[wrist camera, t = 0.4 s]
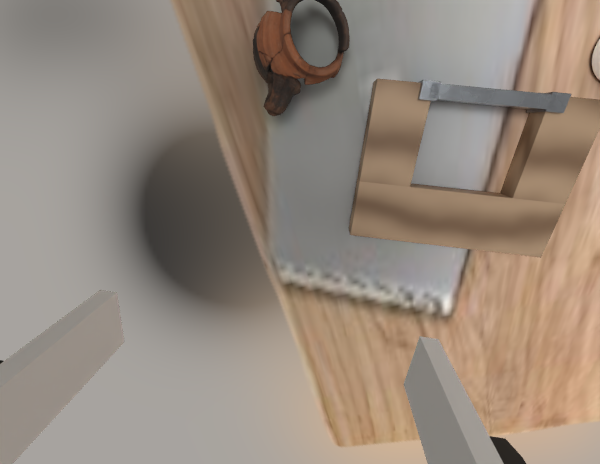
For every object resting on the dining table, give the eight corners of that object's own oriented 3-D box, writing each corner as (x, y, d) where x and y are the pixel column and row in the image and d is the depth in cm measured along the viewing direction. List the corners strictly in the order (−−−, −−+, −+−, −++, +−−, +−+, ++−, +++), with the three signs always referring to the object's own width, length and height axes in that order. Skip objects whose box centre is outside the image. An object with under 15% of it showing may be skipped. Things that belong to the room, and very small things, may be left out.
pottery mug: (257, -4, 31) (287, -53, 24) (328, 41, 35) (371, 11, 28) (230, 107, 32) (250, 93, 25) (301, 136, 37) (335, 131, 29)
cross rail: (414, 83, 32) (423, 79, 29) (548, 96, 31) (571, 93, 28) (410, 101, 33) (419, 99, 30) (542, 114, 32) (563, 113, 29)
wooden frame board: (373, 82, 32) (377, 78, 30) (590, 102, 31) (612, 100, 29) (348, 228, 39) (350, 235, 37) (527, 249, 38) (540, 257, 36)
